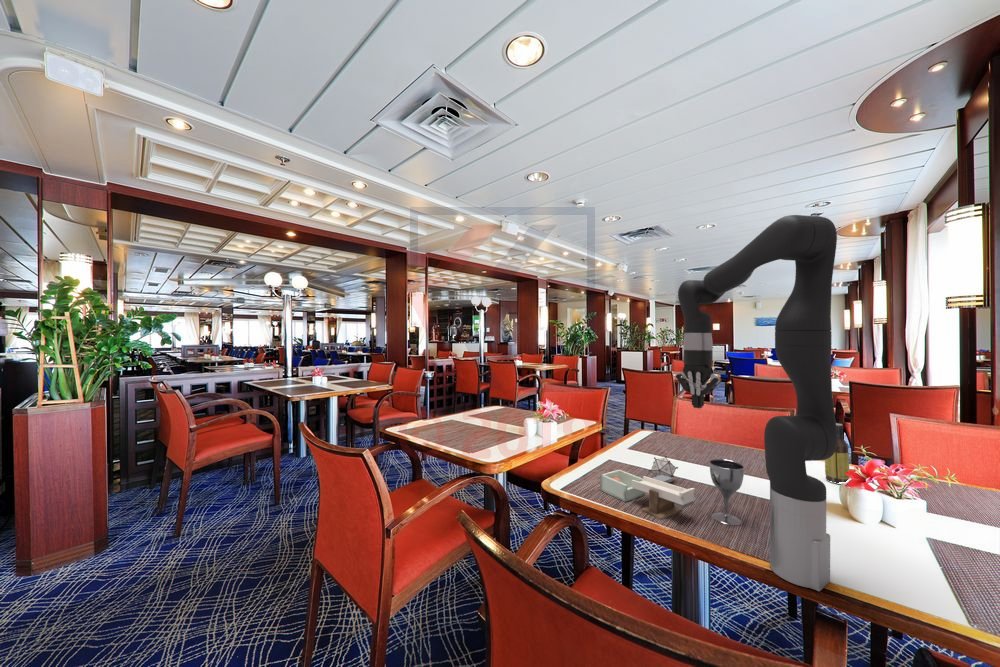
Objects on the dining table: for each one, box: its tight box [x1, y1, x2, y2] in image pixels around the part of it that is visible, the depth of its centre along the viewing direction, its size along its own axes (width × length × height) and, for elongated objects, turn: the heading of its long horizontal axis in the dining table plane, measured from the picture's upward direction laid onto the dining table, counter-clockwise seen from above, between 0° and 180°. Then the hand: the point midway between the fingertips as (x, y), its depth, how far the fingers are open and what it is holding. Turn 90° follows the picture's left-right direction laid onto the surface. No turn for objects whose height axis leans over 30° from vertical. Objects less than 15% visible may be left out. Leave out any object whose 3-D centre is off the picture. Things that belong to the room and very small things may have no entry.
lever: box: [632, 475, 697, 510], centre depth 107 cm, size 16×14×4 cm
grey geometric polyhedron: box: [648, 455, 679, 478], centre depth 126 cm, size 9×8×10 cm
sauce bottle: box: [824, 422, 850, 483], centre depth 126 cm, size 6×6×20 cm
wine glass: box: [709, 458, 745, 526], centre depth 100 cm, size 8×8×15 cm
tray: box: [599, 469, 646, 503], centre depth 117 cm, size 10×9×5 cm
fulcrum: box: [641, 489, 683, 521], centre depth 105 cm, size 6×10×6 cm, turn 122°
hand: (697, 407), depth 107 cm, fingers closed
